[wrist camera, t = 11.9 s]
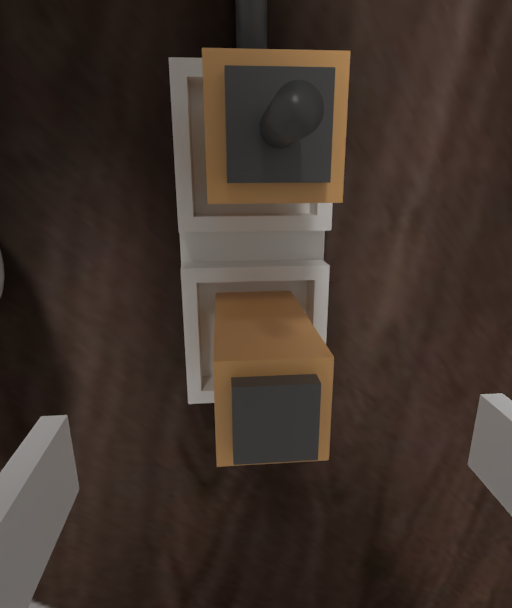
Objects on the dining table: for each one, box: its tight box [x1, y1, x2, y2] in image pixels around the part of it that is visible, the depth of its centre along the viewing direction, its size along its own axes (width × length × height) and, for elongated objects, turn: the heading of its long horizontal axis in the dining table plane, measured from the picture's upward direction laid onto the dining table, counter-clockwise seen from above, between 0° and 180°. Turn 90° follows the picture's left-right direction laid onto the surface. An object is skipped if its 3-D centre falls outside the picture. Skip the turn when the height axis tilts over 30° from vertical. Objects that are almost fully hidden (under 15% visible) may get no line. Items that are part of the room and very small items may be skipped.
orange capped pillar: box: [213, 291, 334, 467], centre depth 20 cm, size 4×4×11 cm
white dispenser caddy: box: [169, 0, 350, 404], centre depth 17 cm, size 25×8×15 cm, turn 0°
